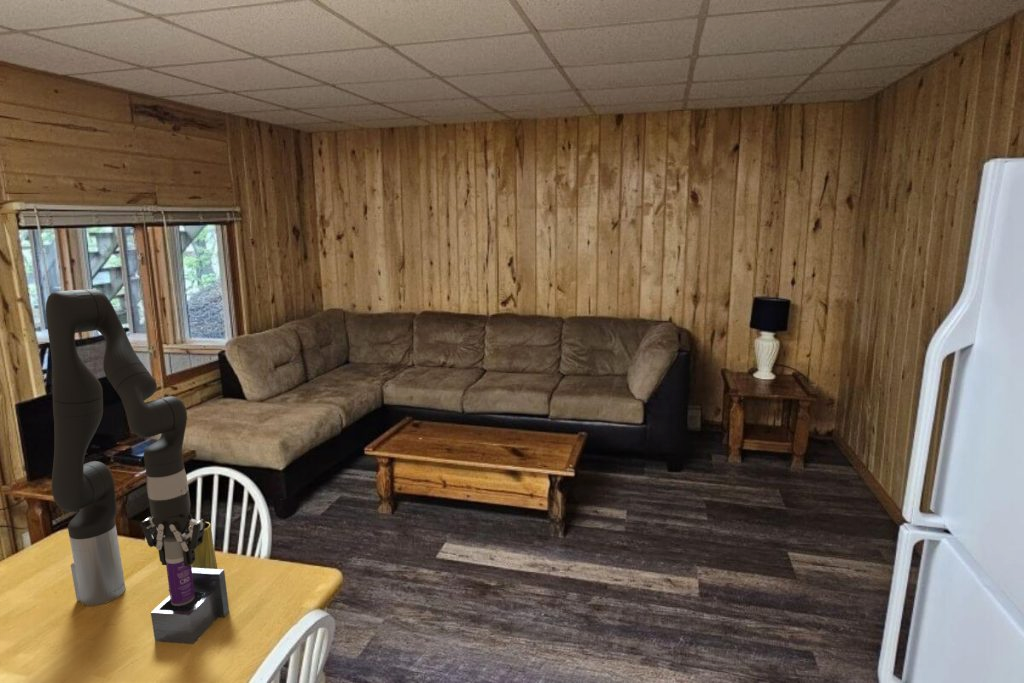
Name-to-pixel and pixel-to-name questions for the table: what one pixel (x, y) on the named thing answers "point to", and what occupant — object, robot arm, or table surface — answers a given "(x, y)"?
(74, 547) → the robot arm
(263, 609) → the table surface
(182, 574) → the container
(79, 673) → the table surface
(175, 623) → the cup bracket
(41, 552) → the table surface
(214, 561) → the vase
